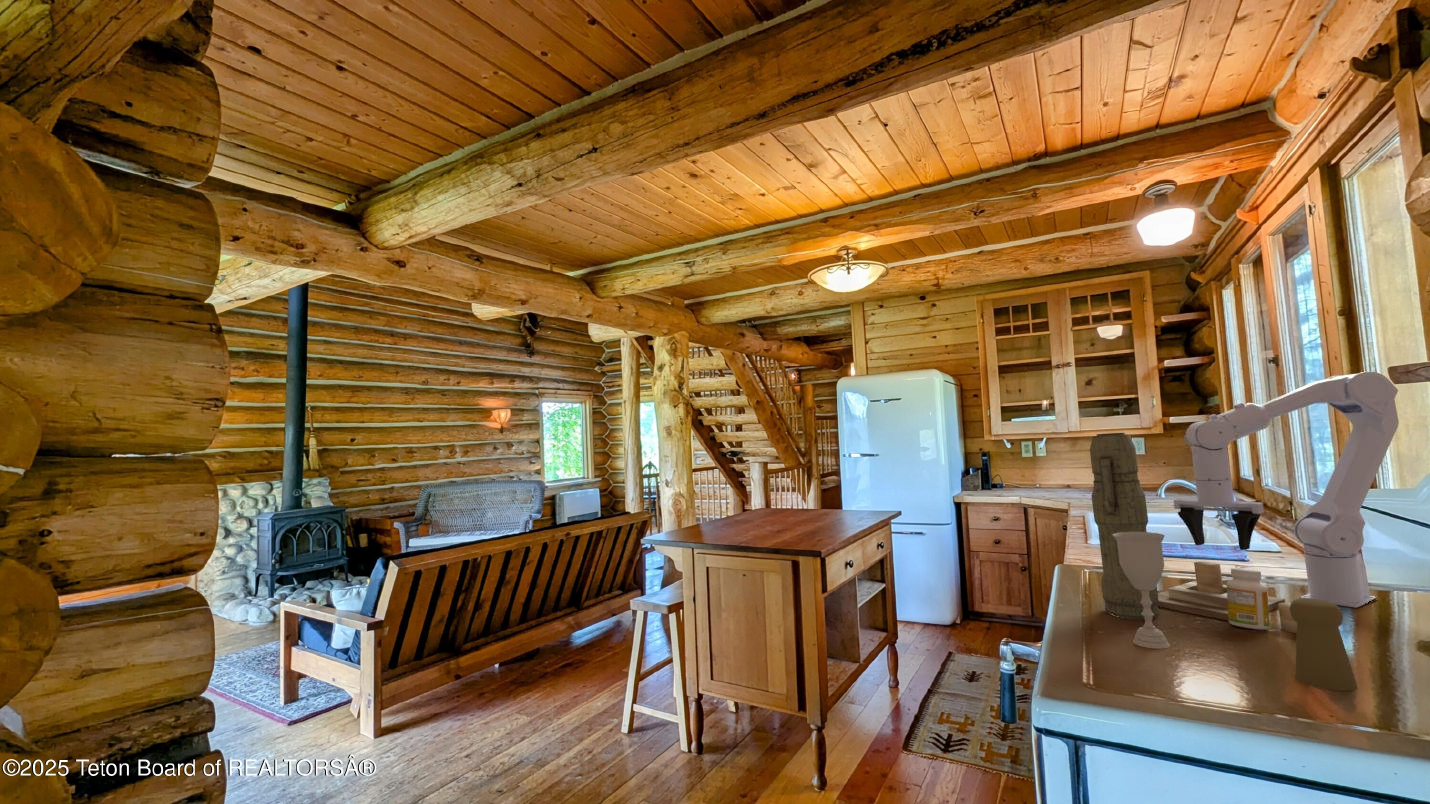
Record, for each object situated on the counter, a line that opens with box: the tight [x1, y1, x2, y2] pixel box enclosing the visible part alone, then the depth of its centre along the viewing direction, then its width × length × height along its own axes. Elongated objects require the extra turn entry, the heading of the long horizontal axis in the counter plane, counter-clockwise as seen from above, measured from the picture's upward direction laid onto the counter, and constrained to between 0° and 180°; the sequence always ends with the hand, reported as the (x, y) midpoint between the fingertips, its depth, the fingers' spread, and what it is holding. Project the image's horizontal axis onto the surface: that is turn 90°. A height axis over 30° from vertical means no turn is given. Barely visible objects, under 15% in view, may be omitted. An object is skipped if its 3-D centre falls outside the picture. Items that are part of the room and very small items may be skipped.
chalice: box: [1113, 531, 1171, 650], centre depth 101 cm, size 7×7×18 cm
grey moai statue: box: [1089, 432, 1160, 621], centre depth 117 cm, size 9×12×35 cm
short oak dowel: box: [1277, 602, 1297, 634], centre depth 102 cm, size 4×4×4 cm
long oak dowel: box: [1193, 561, 1224, 595], centre depth 118 cm, size 4×4×8 cm
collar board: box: [1158, 580, 1286, 621], centre depth 118 cm, size 17×16×3 cm
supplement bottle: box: [1226, 567, 1270, 631], centre depth 105 cm, size 5×5×10 cm
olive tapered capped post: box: [1290, 598, 1358, 692], centre depth 82 cm, size 6×6×11 cm
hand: (1221, 546), depth 121 cm, fingers open, 7 cm apart
